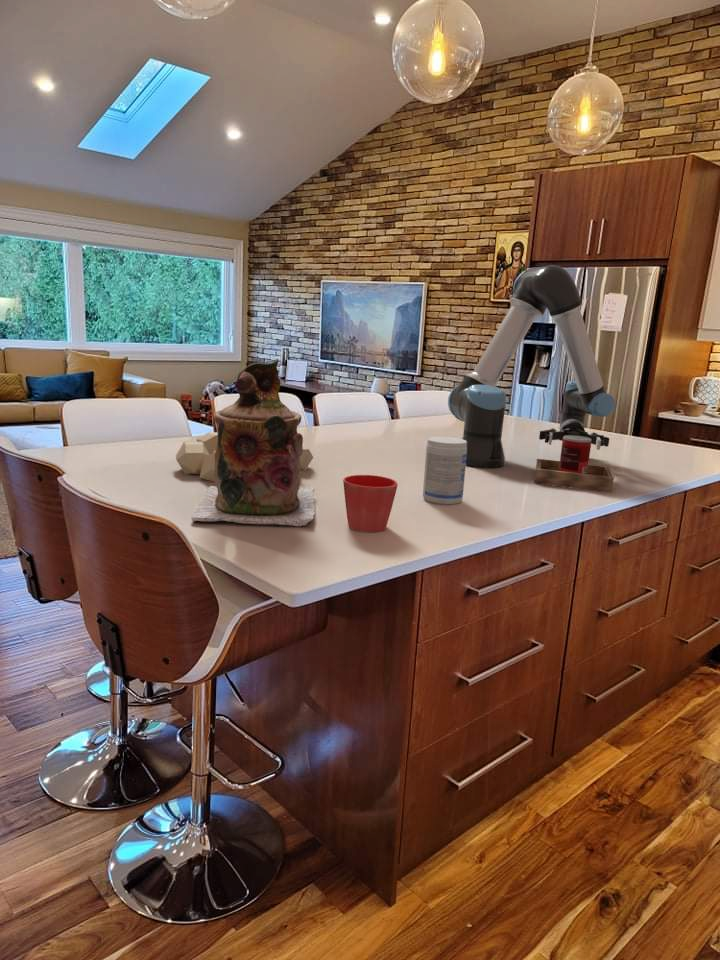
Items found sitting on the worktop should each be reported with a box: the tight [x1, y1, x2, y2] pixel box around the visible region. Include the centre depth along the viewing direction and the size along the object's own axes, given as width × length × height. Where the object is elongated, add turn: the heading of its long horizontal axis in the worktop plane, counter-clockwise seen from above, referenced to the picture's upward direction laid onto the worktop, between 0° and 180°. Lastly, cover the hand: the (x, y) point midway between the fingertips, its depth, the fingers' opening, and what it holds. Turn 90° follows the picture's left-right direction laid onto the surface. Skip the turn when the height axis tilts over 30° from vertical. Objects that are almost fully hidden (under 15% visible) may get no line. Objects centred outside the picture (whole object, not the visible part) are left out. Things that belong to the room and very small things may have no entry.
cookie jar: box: [191, 358, 316, 527], centre depth 134 cm, size 25×25×32 cm
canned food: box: [559, 435, 592, 474], centre depth 181 cm, size 8×8×11 cm
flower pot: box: [342, 474, 399, 533], centre depth 130 cm, size 11×11×10 cm
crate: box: [534, 458, 614, 494], centre depth 182 cm, size 20×16×4 cm
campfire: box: [175, 431, 314, 482], centre depth 171 cm, size 35×34×17 cm
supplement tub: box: [422, 436, 467, 505], centre depth 153 cm, size 10×10×15 cm
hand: (574, 442), depth 189 cm, fingers open, 13 cm apart
